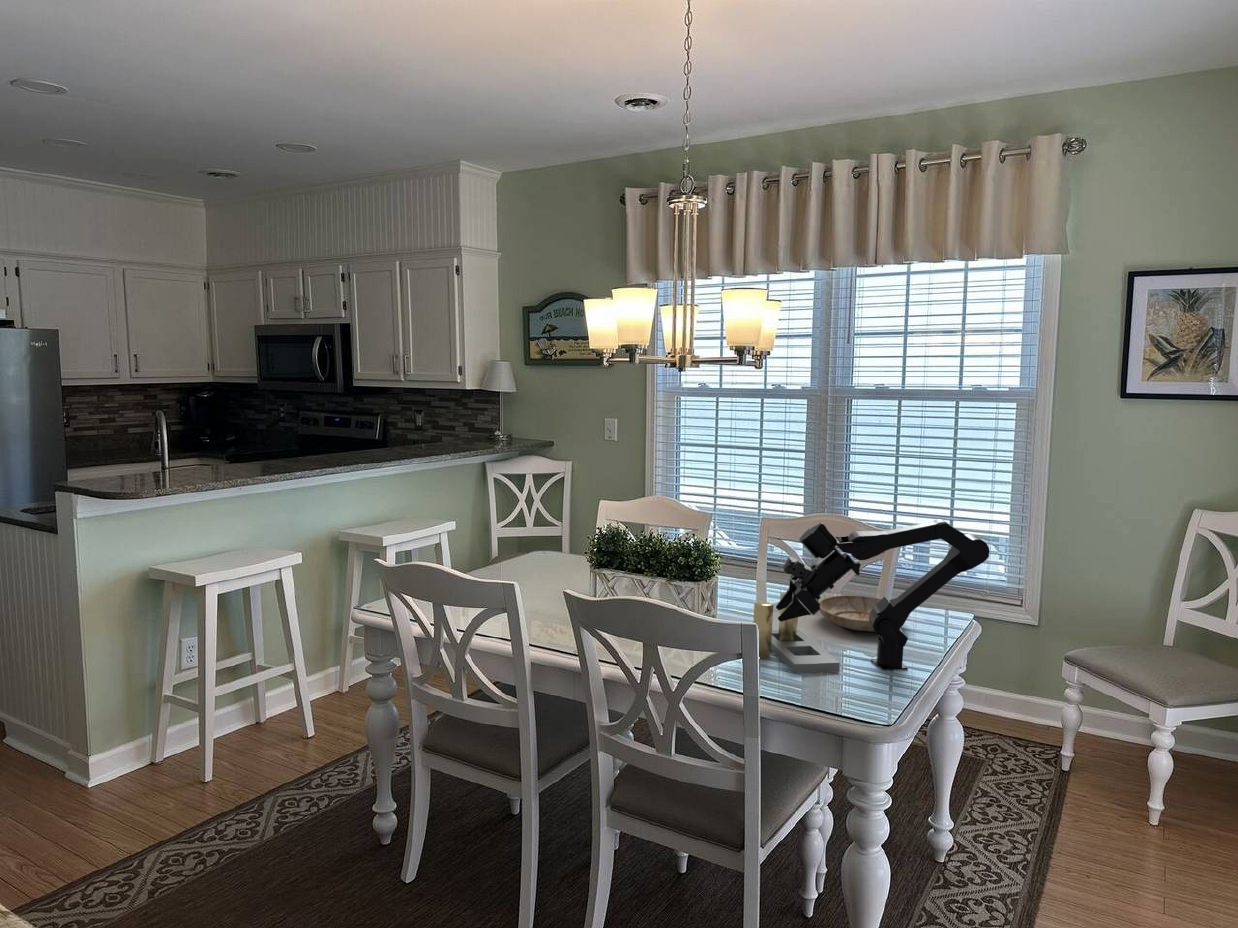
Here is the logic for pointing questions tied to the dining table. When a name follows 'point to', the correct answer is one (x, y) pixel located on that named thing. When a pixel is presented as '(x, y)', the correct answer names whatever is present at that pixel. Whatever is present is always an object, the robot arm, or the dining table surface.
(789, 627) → the cylinder
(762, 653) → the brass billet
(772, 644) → the frame
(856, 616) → the ceramic bowl
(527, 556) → the dining table surface
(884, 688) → the dining table surface
